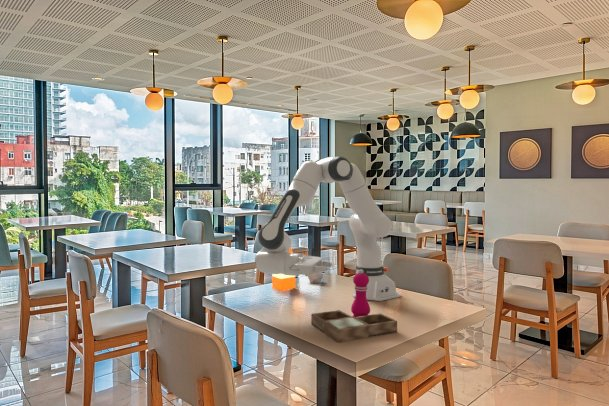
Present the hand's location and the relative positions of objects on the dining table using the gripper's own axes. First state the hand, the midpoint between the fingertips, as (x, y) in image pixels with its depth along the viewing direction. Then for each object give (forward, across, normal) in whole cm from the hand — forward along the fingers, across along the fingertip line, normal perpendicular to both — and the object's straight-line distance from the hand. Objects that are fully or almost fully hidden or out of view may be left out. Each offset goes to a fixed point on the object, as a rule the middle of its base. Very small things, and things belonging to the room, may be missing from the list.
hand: (329, 266), depth 171 cm
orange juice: (-31, +41, +20) cm, 55 cm away
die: (-19, +58, +20) cm, 64 cm away
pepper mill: (+13, 0, +20) cm, 24 cm away
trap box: (+11, -9, +20) cm, 25 cm away
